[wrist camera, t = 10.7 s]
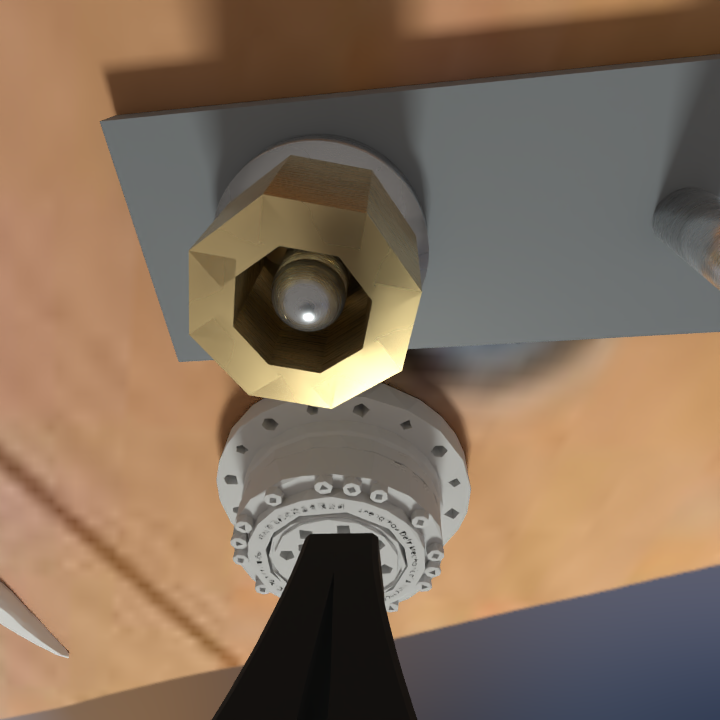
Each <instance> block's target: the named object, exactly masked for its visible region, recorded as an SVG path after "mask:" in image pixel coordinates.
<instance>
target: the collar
mask: <svg viewBox="0 0 720 720" xmlns="http://www.w3.org/2000/svg"><path fill="white" fill-rule="evenodd" d="M278 246H283V247H289V248H294V249H300V250H305V251H311V252H317V253H322V254H328V255H333V256H339V258H340V259H341V260H342V262H343V263H344V264H345V265H346V267H347V268H348V269H349V271H350V272H351V273H352V275H353V276H354V277H355V279H356V280H357V281H358V283H359V284H360V285H361V286H362V289H360V290H359V291H357V292H356V293H354V294H352V295H351V296H349V297H348V298H346V302H345V306H344V309H343V311H342V313H341V314H340V316H339V317H338V318H337V320H336V321H334V322H333V323H332V324H331V325H329V326H328V327H326V328H324V329H321V330H317V331H301V330H297V329H294V328H292V327H290V326H289V325H287V324H286V323H285V322H283V321H282V320H281V318H280V317H279V316H278V315H277V313H276V311H275V309H274V307H273V304H272V300H271V287H272V283H273V280H274V277H273V276H272V275H271V274H270V273H269V271H268V270H267V269H266V268H265V267H264V256H266V255H267V254H269V253H270V252H271V251H273V250H274V249H276V248H277V247H278ZM421 294H422V287H421V277H420V268H419V258H418V249H417V240H416V235H415V233H414V232H413V230H412V229H411V227H410V226H409V224H408V223H407V221H406V220H405V218H404V217H403V215H402V214H401V212H400V211H399V209H398V208H397V206H396V205H395V203H394V202H393V200H392V199H391V197H390V196H389V194H388V193H387V191H386V190H385V188H384V187H383V185H382V184H381V182H380V181H379V180H378V178H377V177H376V175H375V174H374V172H373V171H372V170H369V169H364V168H359V167H353V166H348V165H343V164H337V163H332V162H327V161H321V160H316V159H311V158H305V157H300V156H295V155H290V156H289V157H287V158H286V159H285V160H283V161H282V162H281V163H280V164H278V165H277V166H276V167H274V168H273V169H272V170H271V171H269V172H268V173H267V174H265V175H264V176H263V177H262V178H260V179H259V180H258V181H256V182H255V183H254V184H253V185H251V186H250V187H249V188H247V189H246V190H245V191H244V192H242V193H241V194H240V195H238V196H237V197H236V198H234V199H233V200H232V201H230V203H229V204H228V205H227V206H226V207H225V209H224V210H223V211H222V212H221V213H220V214H219V216H218V217H217V218H216V219H215V220H214V221H213V223H212V224H211V225H210V226H209V227H208V228H207V230H206V231H205V232H204V233H203V234H202V235H201V237H200V238H199V239H198V240H197V241H196V243H195V244H194V245H193V246H192V247H191V248H190V250H189V335H190V336H191V337H192V338H193V339H194V340H195V341H196V342H197V343H198V344H199V345H200V346H201V347H202V348H203V349H204V350H205V351H206V352H207V353H208V354H209V355H210V356H211V357H212V358H213V359H214V360H215V361H216V362H217V363H218V364H219V365H220V366H221V368H222V369H223V370H224V371H225V372H226V373H227V374H228V375H229V376H230V377H231V378H232V379H233V380H234V381H235V382H236V383H237V384H238V385H239V386H240V387H241V388H242V389H243V390H244V391H245V392H246V393H247V394H248V395H251V396H257V397H263V398H269V399H275V400H281V401H287V402H293V403H299V404H306V405H312V406H318V407H324V408H330V409H332V408H334V407H336V406H338V405H340V404H341V403H343V402H345V401H347V400H349V399H351V398H352V397H354V396H356V395H358V394H360V393H362V392H364V391H365V390H367V389H369V388H371V387H373V386H375V385H376V384H378V383H380V382H382V381H384V380H386V379H387V378H389V377H391V376H393V375H395V374H397V373H398V372H400V371H402V368H403V364H404V360H405V356H406V352H407V348H408V345H409V341H410V337H411V333H412V329H413V325H414V321H415V317H416V313H417V309H418V306H419V302H420V298H421Z"/></svg>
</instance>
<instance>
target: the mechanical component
mask: <svg viewBox="0 0 720 720" xmlns="http://www.w3.org/2000/svg"><path fill="white" fill-rule="evenodd" d="M217 486H218V492H219V498H220V501H221V503H222V505H223V507H224V509H225V511H226V513H227V515H228V517H229V519H230V521H231V523H232V524H233V525H234V532H233V536H232V538H231V545H232V546H233V547H234V548H235V552H234V556H233V561H234V562H235V563H236V564H239V565H241V566H242V567H243V568H244V569H245V571H246V572H247V573H248V574H249V576H250V577H251V578H252V579H253V580H254V581H255V582H256V585H255V590H256V591H257V592H258V593H261V594H268V593H269V592H271V593H272V594H274V595H276V596H278V597H281V594H282V592H283V590H284V588H285V586H286V584H287V582H288V579H289V577H290V575H291V573H292V570H293V568H294V566H295V563H296V561H297V558H298V556H299V554H300V551H301V548H302V546H303V543H304V540H305V538H306V537H307V536H308V535H309V534H331V533H373V534H375V535H376V536H378V539H379V548H380V558H381V567H382V576H383V586H384V598H385V607H386V611H388V612H394V611H398V603H399V602H401V601H404V600H406V599H409V598H410V597H412V596H413V595H414V594H416V593H417V592H419V591H421V592H422V591H429V590H430V589H431V588H432V584H431V579H432V578H433V577H436V576H439V575H440V573H441V569H440V563H441V560H442V558H443V557H444V549H443V546H444V545H445V544H446V543H447V541H448V540H449V539H450V538H451V537H452V536H453V535H454V534H455V533H456V531H457V530H458V529H459V527H460V525H461V523H462V521H463V519H464V517H465V515H466V514H467V510H468V504H469V498H470V491H471V487H470V482H469V476H468V471H467V466H466V460H465V455H464V451H463V449H462V447H461V445H460V442H459V440H458V438H457V436H456V434H455V433H454V431H453V430H452V429H451V428H450V426H449V425H448V424H447V423H446V421H445V420H444V419H443V418H442V416H440V415H439V414H438V413H436V412H435V411H434V410H432V409H431V408H430V407H429V406H427V405H426V404H425V403H423V402H422V401H421V400H419V399H417V398H415V397H412V396H410V395H408V394H406V393H404V392H401V391H399V390H397V389H395V388H392V387H390V386H388V385H386V384H383V383H378V384H376V385H375V386H373V387H371V388H369V389H367V390H365V391H364V392H362V393H360V394H358V395H356V396H354V397H352V398H351V399H349V400H347V401H345V402H343V403H341V404H340V405H338V406H336V407H334V408H332V409H330V408H324V407H318V406H312V405H306V404H299V403H293V402H287V401H281V400H275V399H269V398H264V399H262V400H260V401H259V402H257V403H255V404H254V405H252V406H251V407H250V408H249V410H248V411H247V412H246V413H245V414H244V415H243V416H242V417H241V418H240V420H239V421H238V422H237V423H236V424H235V425H234V426H233V427H232V429H231V431H230V434H229V437H228V439H227V442H226V445H225V447H224V450H223V453H222V455H221V458H220V461H219V467H218V474H217Z"/></svg>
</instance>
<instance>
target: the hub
mask: <svg viewBox="0 0 720 720" xmlns="http://www.w3.org/2000/svg"><path fill="white" fill-rule="evenodd" d="M290 155H295V156H300V157H305V158H311V159H316V160H321V161H327V162H332V163H337V164H343V165H348V166H353V167H359V168H364V169H369V170H372V171H373V172H374V174H375V175H376V177H377V178H378V180H379V181H380V182H381V184H382V185H383V187H384V188H385V190H386V191H387V193H388V194H389V196H390V197H391V199H392V200H393V202H394V203H395V205H396V206H397V208H398V209H399V211H400V212H401V214H402V215H403V217H404V218H405V220H406V221H407V223H408V224H409V226H410V227H411V229H412V230H413V232H414V233H415V235H416V240H417V249H418V258H419V268H420V277H421V287H422V286H423V283H424V280H425V277H426V273H427V267H428V262H429V243H428V233H427V227H426V221H425V217H424V213H423V209H422V206H421V204H420V201H419V199H418V196H417V194H416V192H415V191H414V189H413V187H412V185H411V183H410V182H409V181H408V179H407V178H406V177H405V175H404V174H403V173H402V172H401V171H400V170H399V168H398V167H397V166H396V165H395V164H394V163H393V162H392V161H390V160H389V159H388V158H386V157H385V156H384V155H383V154H381V153H380V152H378V151H377V150H375V149H373V148H371V147H370V146H368V145H366V144H363V143H361V142H359V141H356V140H354V139H350V138H346V137H342V136H339V135H330V134H307V135H301V136H295V137H291V138H288V139H285V140H282V141H280V142H277V143H275V144H273V145H271V146H269V147H267V148H266V149H265V150H263V151H262V152H260V153H259V154H257V155H256V156H255V157H254V158H253V159H252V160H251V161H249V162H248V163H247V164H246V165H245V166H244V167H243V168H242V169H241V171H240V172H239V173H238V174H237V175H236V176H235V177H234V179H233V180H232V181H231V182H230V184H229V185H228V187H227V188H226V190H225V192H224V194H223V195H222V197H221V200H220V202H219V205H218V207H217V210H216V214H215V218H214V220H215V219H216V218H217V217H218V216H219V214H220V213H221V212H222V211H223V210H224V209H225V207H226V206H227V205H228V204H229V203H230V201H232V200H233V199H234V198H236V197H237V196H238V195H240V194H241V193H242V192H244V191H245V190H246V189H247V188H249V187H250V186H251V185H253V184H254V183H255V182H256V181H258V180H259V179H260V178H262V177H263V176H264V175H265V174H267V173H268V172H269V171H271V170H272V169H273V168H274V167H276V166H277V165H278V164H280V163H281V162H282V161H283V160H285V159H286V158H287V157H289V156H290ZM264 267H265V268H266V269H267V270H268V271H269V273H270V274H271V275H272V276H273V277H274V280H273V283H272V287H271V300H272V304H273V307H274V309H275V311H276V313H277V315H278V316H279V317H280V318H281V320H282V321H283V322H285V323H286V324H287V325H289V326H290V327H292V328H294V329H297V330H301V331H317V330H321V329H324V328H326V327H328V326H329V325H331V324H332V323H333V322H334V321H336V320H337V318H338V317H339V316H340V314H341V313H342V311H343V309H344V306H345V302H346V298H348V297H349V296H351V295H352V294H354V293H356V292H357V291H359V290H360V289H362V286H361V285H360V284H359V283H358V281H357V280H356V279H355V277H354V276H353V275H352V273H351V272H350V271H349V269H348V268H347V267H346V265H345V264H344V263H343V262H342V260H341V259H340V258H339V256H333V255H328V254H322V253H317V252H311V251H305V250H300V249H294V248H289V247H283V246H278V247H277V248H276V249H274V250H273V251H271V252H270V253H269V254H267V255H266V256H264Z"/></svg>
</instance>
